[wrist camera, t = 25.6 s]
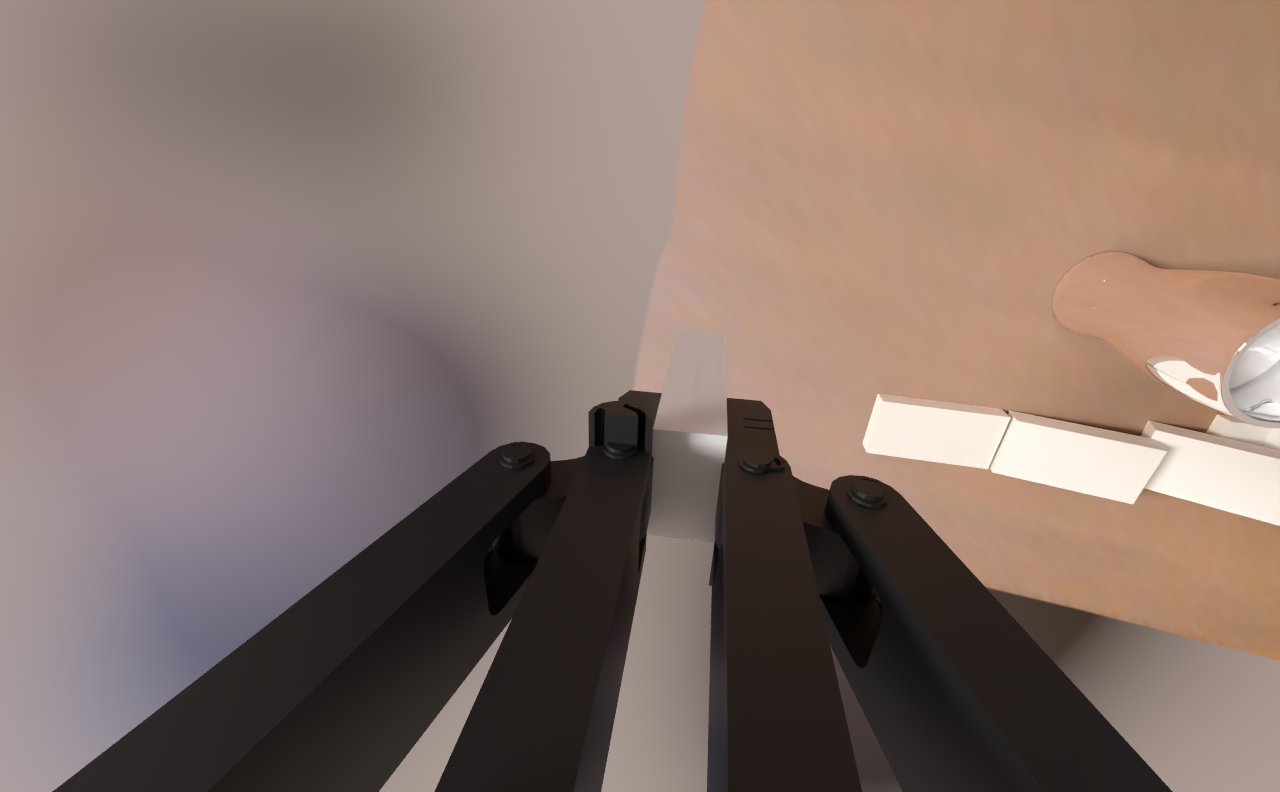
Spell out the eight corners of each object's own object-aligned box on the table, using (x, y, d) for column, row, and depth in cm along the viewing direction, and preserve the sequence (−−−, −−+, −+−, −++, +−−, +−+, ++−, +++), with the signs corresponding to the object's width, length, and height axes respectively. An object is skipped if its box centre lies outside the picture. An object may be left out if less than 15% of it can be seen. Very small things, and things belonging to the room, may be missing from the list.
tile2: (992, 472, 43) (1133, 504, 40) (1016, 420, 41) (1167, 451, 38) (986, 460, 45) (1120, 490, 42) (1009, 410, 42) (1152, 438, 40)
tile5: (1197, 475, 41) (1337, 491, 40) (1231, 421, 39) (1379, 436, 38) (1177, 462, 43) (1310, 477, 42) (1208, 410, 41) (1349, 424, 40)
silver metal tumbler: (1165, 238, 36) (1435, 288, 22) (1141, 332, 38) (1367, 427, 25) (1052, 251, 37) (1243, 306, 23) (1037, 342, 40) (1199, 436, 26)
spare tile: (867, 452, 44) (987, 469, 43) (883, 401, 42) (1010, 417, 41) (861, 441, 46) (977, 456, 45) (876, 391, 44) (998, 406, 43)
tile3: (1124, 482, 42) (1299, 531, 37) (1155, 430, 40) (1344, 474, 35) (1119, 471, 43) (1286, 516, 39) (1148, 420, 41) (1328, 461, 37)
